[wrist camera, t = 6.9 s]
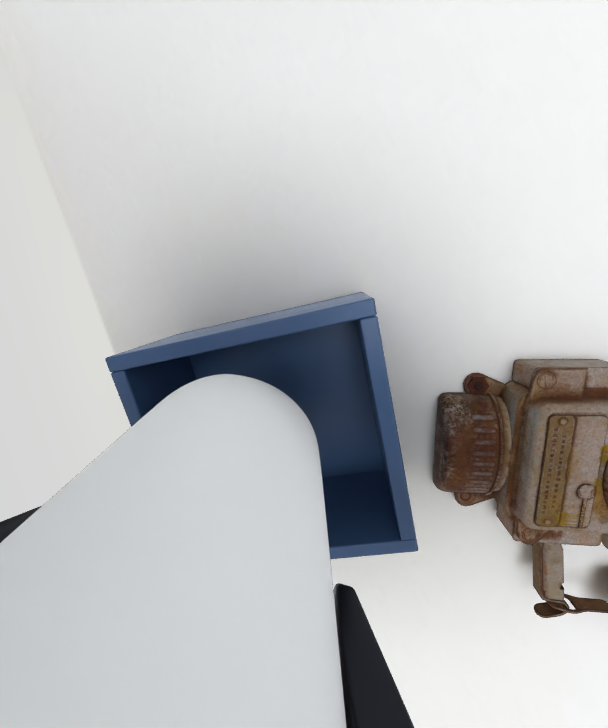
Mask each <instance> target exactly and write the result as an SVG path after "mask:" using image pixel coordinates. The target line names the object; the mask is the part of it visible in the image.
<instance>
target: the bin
mask: <svg viewBox="0 0 608 728" xmlns="http://www.w3.org/2000/svg"><path fill="white" fill-rule="evenodd" d="M376 314H377V313H376V307H375V301H374V299H373V298H372V297H370V296H368V295H366V294H364V293H363V292H360V293H356V294H351V295H347V296H342V297H338V298H334V299H329V300H325V301H321V302H316V303H312V304H308V305H303V306H299V307H294V308H290V309H286V310H281V311H277V312H273V313H268V314H264V315H260V316H255V317H251V318H246V319H242V320H238V321H233V322H229V323H225V324H220V325H216V326H212V327H207V328H203V329H198V330H194V331H190V332H185V333H181V334H177V335H174V336H171V337H168V338H165V339H162V340H159V341H156V342H153V343H149V344H146V345H143V346H140V347H137V348H134V349H131V350H128V351H125V352H122V353H119V354H116V355H113V356H110V357H107V358H106V362H107V365H108V368H109V370H110V372H113V373H112V374H111V375H112V378H113V380H114V383H115V386H116V388H117V391H118V393H119V396H120V399H121V401H122V403H123V406H124V409H125V412H126V414H127V416H128V419H129V422H130V424H131V427H132V426H133V425H134V424H135V423H137V422H138V421H139V420H140V419H141V418H142V417H143V416H145V415H146V414H147V413H148V412H149V411H150V410H152V409H153V408H154V407H155V406H156V405H157V404H158V403H160V402H161V401H162V400H163V399H165V398H166V397H167V396H168V395H170V394H171V393H172V392H174V391H175V390H177V389H179V388H180V387H182V386H184V385H186V384H188V383H190V382H193V381H195V380H198V379H200V378H204V377H207V376H212V375H218V374H234V375H241V376H246V377H250V378H254V379H257V380H260V381H263V382H265V383H268V384H270V385H272V386H274V387H275V388H277V389H279V390H280V391H282V392H283V393H285V394H286V395H287V396H289V397H290V398H291V399H292V400H293V401H294V402H295V403H296V404H297V405H298V406H299V407H300V408H301V409H302V411H303V412H304V413H305V415H306V416H307V418H308V419H309V421H310V423H311V425H312V427H313V430H314V432H315V435H316V439H317V443H318V448H319V455H320V464H321V473H322V482H323V492H324V502H325V512H326V522H327V532H328V542H329V552H330V559H337V558H348V557H359V556H370V555H381V554H392V553H403V552H414V551H418V546H417V540H416V534H415V528H414V523H413V517H412V511H411V506H410V500H409V494H408V489H407V483H406V477H405V472H404V466H403V460H402V455H401V449H400V443H399V438H398V432H397V426H396V421H395V415H394V409H393V403H392V398H391V392H390V386H389V381H388V375H387V369H386V364H385V358H384V352H383V347H382V341H381V335H380V330H379V324H378V318H377V316H376Z"/></svg>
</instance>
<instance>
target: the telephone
mask: <svg viewBox="0 0 608 728" xmlns="http://www.w3.org/2000/svg"><path fill="white" fill-rule="evenodd" d="M512 380H513V381H510V382H508V383H507V384H503V383H501V382H499V381H497V380H494V379H492V378H490V377H488V376H485V375H483V374H480V373H472V374H470V375H469V376H467V378H466V379H465V381H464V390H465V392H466V393H443V394H441V395H440V396H439V399H438V411H437V426H436V441H435V456H434V472H433V482H434V484H435V485H436V487H437V488H438V489H440V490H442V491H448V492H455V494H454V495H455V499H456V501H457V502H458V503H459V504H460V505H463V506H470V505H473V504H476V503H479V502H482V501H485V500H488V499H491V498H494V499H495V500H496V501H497V503H498V505H497V516H498V518H499V519H500V521H501V522H502V524H503V525H504V526H505V528H506V529H507V531H508V532H509V533H510V535H511V536H512V538H513V539H514V540H515V541H521V542H523V543H525V544H530V545H531V544H532V546H533V586H534V588H535V589H536V591H537V592H538V594H539V595H540V597H541V598H542V599H543V600H545V601H546V602H545V603H538V604H535V605H534V610H535V612H536V614H537V615H539V616H540V617H543V618H550V617H557V616H561V615H564V614H566V613H567V612H568V613H573V614H578V613H582V612H587V611H589V612H601V613H608V603H607V602H606V601H604V600H601V599H589V598H578V597H574V596H570V595H567V594H564V588H563V586H562V583H564V571H563V548H562V545H561V544H571V545H587V546H598V545H600V543H601V541H602V543H603V545H604V546H605V547H606V548H608V362H607V361H603V360H598V359H532V360H516V361H515V362H514V366H513V375H512ZM564 597H565V598H567V599H568V600H569V601H570V602H571V603H572V605H573V606H574V607H575V609H576V610H572V609H569V606H568V604H567V603H566V602H565V600H564Z"/></svg>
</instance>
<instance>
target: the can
mask: <svg viewBox="0 0 608 728" xmlns="http://www.w3.org/2000/svg"><path fill="white" fill-rule="evenodd" d="M0 728H346V717H345V707H344V696H343V685H342V675H341V665H340V654H339V644H338V634H337V623H336V613H335V603H334V593H333V582H332V572H331V562H330V552H329V542H328V532H327V522H326V512H325V502H324V492H323V482H322V473H321V464H320V455H319V448H318V443H317V439H316V435H315V432H314V430H313V427H312V425H311V423H310V421H309V419H308V418H307V416H306V415H305V413H304V412H303V411H302V409H301V408H300V407H299V406H298V405H297V404H296V403H295V402H294V401H293V400H292V399H291V398H290V397H289V396H287V395H286V394H285V393H283V392H282V391H280V390H279V389H277V388H275V387H274V386H272V385H270V384H268V383H265V382H263V381H260V380H257V379H254V378H250V377H246V376H241V375H234V374H218V375H212V376H207V377H204V378H200V379H198V380H195V381H193V382H190V383H188V384H186V385H184V386H182V387H180V388H179V389H177V390H175V391H174V392H172V393H171V394H170V395H168V396H167V397H166V398H165V399H163V400H162V401H161V402H160V403H158V404H157V405H156V406H155V407H154V408H153V409H152V410H150V411H149V412H148V413H147V414H146V415H145V416H143V417H142V418H141V419H140V420H139V421H138V422H137V423H135V424H134V425H133V426H132V427H131V428H130V429H129V430H127V431H126V432H125V433H124V434H123V435H122V436H121V437H120V438H118V439H117V440H116V441H115V442H114V443H113V444H112V445H110V446H109V447H108V448H107V449H106V450H105V451H104V452H103V453H101V454H100V455H99V456H98V457H97V458H96V459H95V460H94V461H92V462H91V463H90V464H89V465H88V466H87V467H86V468H84V469H83V470H82V471H81V472H80V473H79V474H78V475H76V476H75V478H73V479H72V480H71V481H70V482H69V483H67V484H66V485H65V486H64V487H63V488H62V489H61V490H60V491H58V492H57V493H56V494H55V495H54V496H53V497H52V498H51V499H49V500H48V501H47V502H46V503H45V504H44V505H43V506H41V507H40V508H39V509H38V510H37V511H36V512H35V513H34V514H32V515H31V516H30V517H29V518H28V519H27V520H26V521H25V522H23V523H22V524H21V525H20V526H19V527H18V528H17V529H16V530H14V531H13V532H12V533H11V534H10V535H9V536H8V537H7V538H5V539H4V540H3V541H2V542H1V543H0Z"/></svg>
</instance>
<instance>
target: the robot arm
mask: <svg viewBox="0 0 608 728" xmlns="http://www.w3.org/2000/svg"><path fill="white" fill-rule="evenodd" d="M40 507H41V506H40ZM40 507H38V508H35V509H32V510H30V511H27V512H25V513H22V514H20V515H17V516H15V517H12V518H10V519H7V520H4V521H2V522H0V543H1V542H2V541H3V540H4V539H5V538H7V537H8V536H9V535H10V534H11V533H12V532H13V531H14V530H16V529H17V528H18V527H19V526H20V525H21V524H22V523H23V522H25V521H26V520H27V519H28V518H29V517H30V516H31V515H32V514H34V513H35V512H36V511H37V510H38V509H39V508H40ZM333 593H334V603H335V613H336V623H337V634H338V644H339V654H340V665H341V675H342V685H343V696H344V707H345V717H346V728H414V726H413V723H412V721H411V719H410V716H409V714H408V712H407V710H406V707H405V705H404V703H403V700H402V698H401V696H400V693H399V691H398V689H397V686H396V684H395V682H394V680H393V677H392V675H391V673H390V670H389V668H388V666H387V663H386V661H385V659H384V657H383V654H382V652H381V650H380V647H379V645H378V643H377V640H376V638H375V636H374V633H373V631H372V629H371V627H370V624H369V622H368V620H367V617H366V615H365V613H364V610H363V608H362V606H361V603H360V601H359V599H358V597H357V594H356V592H355V590H354V589H353V588H352V587H350V586H347V585H343V584H339V583H338V584H336V585H335V587H334V590H333Z"/></svg>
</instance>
